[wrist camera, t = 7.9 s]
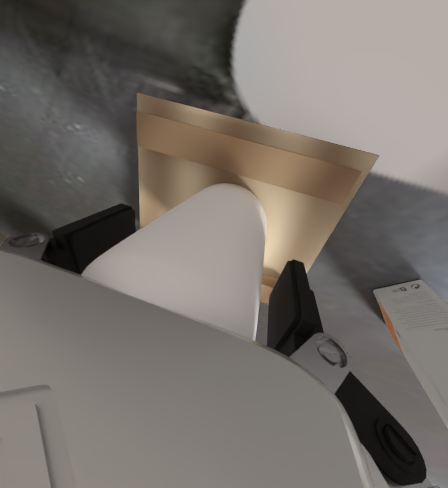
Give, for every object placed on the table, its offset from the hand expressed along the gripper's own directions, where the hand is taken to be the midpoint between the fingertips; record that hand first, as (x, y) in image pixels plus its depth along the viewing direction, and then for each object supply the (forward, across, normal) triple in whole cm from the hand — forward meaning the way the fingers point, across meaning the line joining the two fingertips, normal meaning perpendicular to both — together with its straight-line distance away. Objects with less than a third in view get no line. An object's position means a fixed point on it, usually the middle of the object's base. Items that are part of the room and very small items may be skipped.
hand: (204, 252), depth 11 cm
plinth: (+9, 0, 0) cm, 9 cm away
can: (+6, 0, 0) cm, 6 cm away
